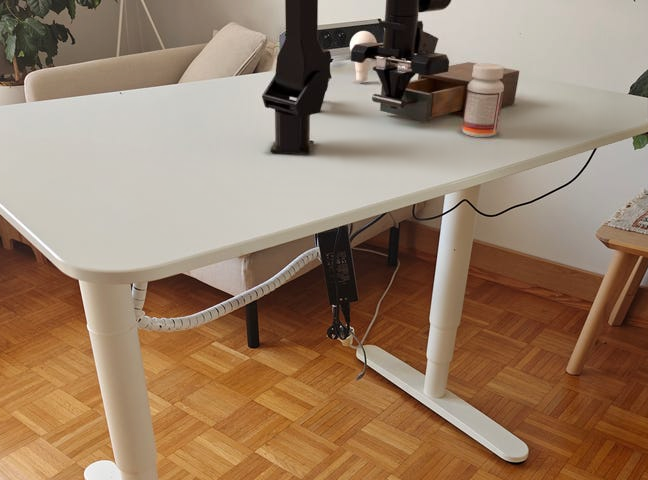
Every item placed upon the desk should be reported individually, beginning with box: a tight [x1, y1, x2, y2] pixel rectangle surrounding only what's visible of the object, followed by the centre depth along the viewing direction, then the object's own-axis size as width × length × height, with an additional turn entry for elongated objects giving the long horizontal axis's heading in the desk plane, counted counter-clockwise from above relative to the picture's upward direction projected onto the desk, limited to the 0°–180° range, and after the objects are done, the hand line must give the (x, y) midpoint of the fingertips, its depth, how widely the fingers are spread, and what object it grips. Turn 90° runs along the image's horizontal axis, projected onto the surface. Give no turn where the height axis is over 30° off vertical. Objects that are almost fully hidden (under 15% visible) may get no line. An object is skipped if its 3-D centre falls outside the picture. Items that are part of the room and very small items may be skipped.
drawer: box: [371, 78, 467, 123], centre depth 131 cm, size 20×11×5 cm, turn 132°
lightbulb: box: [349, 30, 378, 84], centre depth 156 cm, size 6×6×11 cm
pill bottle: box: [461, 62, 505, 138], centre depth 120 cm, size 6×6×11 cm
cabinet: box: [417, 61, 520, 118], centre depth 139 cm, size 17×13×7 cm
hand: (394, 108), depth 127 cm, fingers closed, pressing on drawer
